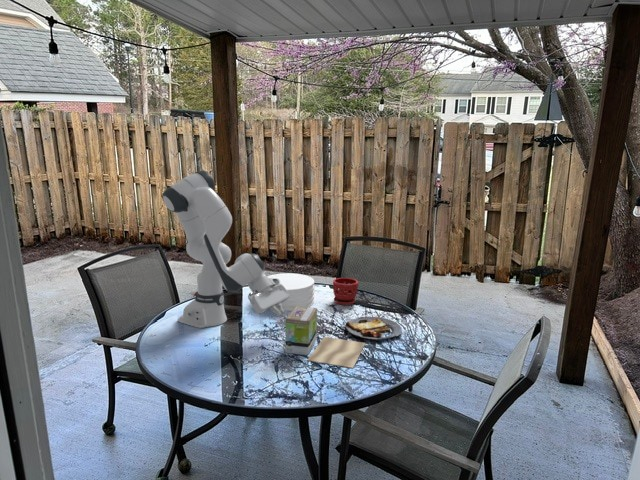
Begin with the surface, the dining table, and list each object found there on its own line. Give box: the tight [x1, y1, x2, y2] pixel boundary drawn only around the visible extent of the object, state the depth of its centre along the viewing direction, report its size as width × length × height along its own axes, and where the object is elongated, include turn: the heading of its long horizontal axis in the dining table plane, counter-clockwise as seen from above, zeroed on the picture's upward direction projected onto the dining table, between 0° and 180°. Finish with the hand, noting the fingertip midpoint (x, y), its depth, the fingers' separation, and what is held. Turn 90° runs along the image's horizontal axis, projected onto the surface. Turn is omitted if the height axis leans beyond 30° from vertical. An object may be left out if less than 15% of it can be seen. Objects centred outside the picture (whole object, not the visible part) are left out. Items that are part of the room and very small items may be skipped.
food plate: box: [345, 315, 403, 341], centre depth 197 cm, size 25×23×4 cm
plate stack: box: [266, 272, 315, 312], centre depth 232 cm, size 28×28×12 cm
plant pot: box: [332, 277, 359, 306], centre depth 231 cm, size 13×13×12 cm
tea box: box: [284, 306, 318, 356], centre depth 180 cm, size 15×10×15 cm, turn 168°
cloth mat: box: [307, 336, 366, 369], centre depth 177 cm, size 18×22×1 cm
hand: (281, 314), depth 182 cm, fingers closed
